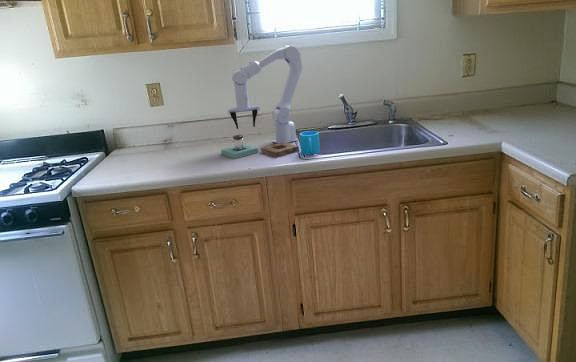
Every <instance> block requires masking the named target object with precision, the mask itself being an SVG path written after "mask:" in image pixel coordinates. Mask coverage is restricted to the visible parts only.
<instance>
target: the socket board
mask: <svg viewBox="0 0 576 362" xmlns="http://www.w3.org/2000/svg"><path fill="white" fill-rule="evenodd" d="M220 151H221V155H224V156H227V157H229V158H231V159H239V158H243V157H246V156H250V155H254V154H256V153H257V154H258V153H259V150H258V147H255V146H253V145H249V144H246V143H244V150H240V151H235V145H234V146H230V147H226V148H221V150H220Z"/></svg>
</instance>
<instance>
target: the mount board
mask: <svg viewBox="0 0 576 362" xmlns="http://www.w3.org/2000/svg"><path fill="white" fill-rule="evenodd" d="M299 148H300V147H299V146H298V145H295V144H292V143H289V142H288V143H284V142H281V143H275V144H271V145H270V144H269V145H267V146H262V147H261V148H260V153H263V154H266V155H269V156H271V157H275V158H278V157H281V156H285V155H289V154H292V153H297V152H299V151H300V149H299Z"/></svg>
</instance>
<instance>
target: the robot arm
mask: <svg viewBox="0 0 576 362" xmlns="http://www.w3.org/2000/svg"><path fill="white" fill-rule="evenodd" d="M301 57H302V55H301V51H300V50H299V49H298V48H297V46H295V45H288V44H287V45H286V44H284V46H282V47H280V48H277V49H275V50H274V51H272V52H271V53H269V54H268V55H266V56H265V57H264V58H262V59H259V61H257V60H253V61H252V60H250V61H249V62H248V64H247V65H245V66H243V67H242V66H241V67H239V70H234V72H233V74H232V77H231V78H232V81H233V83H234V84H233V85H234V94H235V102H236V107H233V108H227V114H228V115H230V116H231V119H232V120H233V122H234V124H235V128H236V130H238V129H239V123H238V119H237V113H245V112H246V113H247V112H251V114H252V127H253V128H255V127H256V119H257V115H258V111H260V105H250V98H249V92H248V85H247V81H248V80H250V79H252V78H254V77H255V76H257V75H258V74H260V73H261V72H262V70H263V68H265V67H266V66H268V65H269V64H271V63H273V62H275V61H277V60H283V61H285V62H287V63H286V64H288V66H289V68H290V69H289V71H288V75H287V79H286V81H285V83H284V88H283V90H282V94H281V95H280V100H279V102H278V103H277V104H276V107H275V108H274V109H273V111H272V118H273V120H274V122H273V126H274V135H275V136H274V137H275V140H271V142H272V143H275V144H278V143H281V142H284V143H288V144H289V143H292V142H295V141H298V138H297V134H296V133H297V132H296V124H295V123H294V122H293V121H291V120H290V119H291V115H290V114H291V113H290V112H291V104H292V100H293V98H294V95H295V92H296V89H297V85H298V83H299V79H300V77H301V73H302V70H303V62H302V58H301Z"/></svg>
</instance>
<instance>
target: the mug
mask: <svg viewBox="0 0 576 362" xmlns="http://www.w3.org/2000/svg"><path fill="white" fill-rule="evenodd" d="M299 145H300V154H302V155H316V154H319V153H320V152H321V147H320V146H321V145H320V133H319V131H316V130H308V131H303V132H300V133H299Z"/></svg>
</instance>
